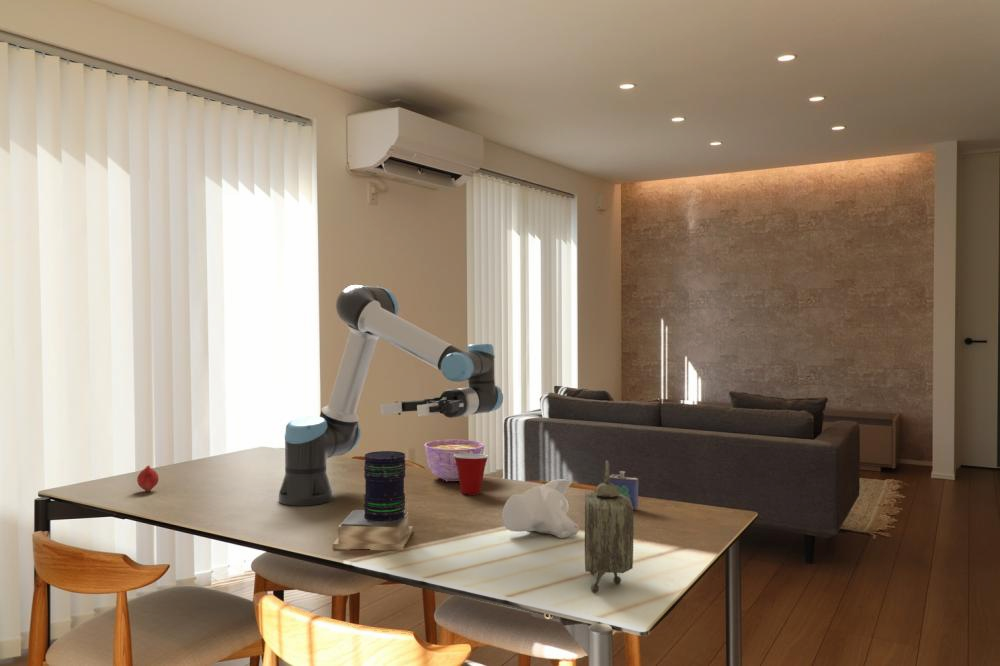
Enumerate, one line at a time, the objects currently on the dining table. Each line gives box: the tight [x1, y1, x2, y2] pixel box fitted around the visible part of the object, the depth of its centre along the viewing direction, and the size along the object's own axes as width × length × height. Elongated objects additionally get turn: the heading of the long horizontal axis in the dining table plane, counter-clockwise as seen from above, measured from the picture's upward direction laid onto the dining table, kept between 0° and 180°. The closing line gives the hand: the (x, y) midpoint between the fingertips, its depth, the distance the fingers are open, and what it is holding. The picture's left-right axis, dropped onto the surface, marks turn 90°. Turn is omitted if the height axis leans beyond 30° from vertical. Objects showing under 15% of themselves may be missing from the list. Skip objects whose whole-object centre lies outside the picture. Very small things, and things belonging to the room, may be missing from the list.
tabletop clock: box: [584, 459, 635, 594], centre depth 152 cm, size 14×9×25 cm, turn 175°
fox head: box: [501, 478, 580, 539], centre depth 188 cm, size 13×17×20 cm
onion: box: [136, 464, 159, 492], centre depth 227 cm, size 6×6×8 cm
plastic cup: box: [454, 453, 489, 496], centre depth 230 cm, size 11×11×12 cm
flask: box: [609, 470, 639, 511], centre depth 213 cm, size 9×3×11 cm, turn 68°
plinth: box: [332, 509, 414, 551], centre depth 181 cm, size 16×16×5 cm
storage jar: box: [363, 450, 406, 522], centre depth 181 cm, size 10×10×15 cm
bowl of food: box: [424, 439, 486, 482], centre depth 249 cm, size 20×20×12 cm
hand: (399, 410), depth 188 cm, fingers open, 13 cm apart
